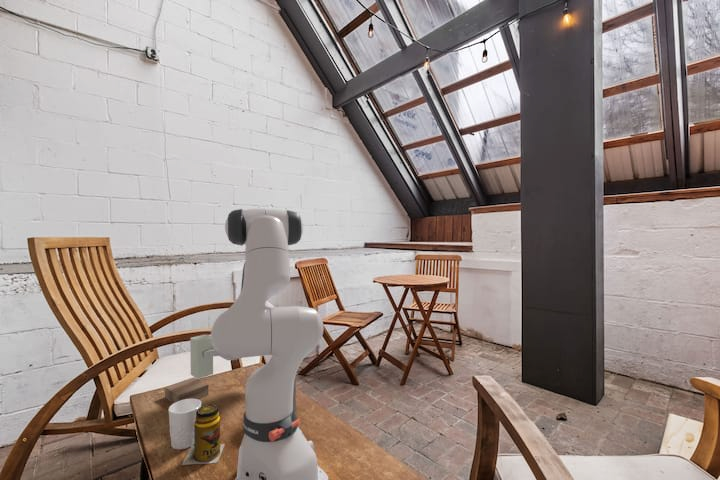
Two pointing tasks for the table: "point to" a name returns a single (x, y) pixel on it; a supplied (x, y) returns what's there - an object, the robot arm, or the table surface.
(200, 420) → the condiment
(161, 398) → the table surface
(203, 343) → the sage block
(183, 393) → the walnut base
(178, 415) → the white cup
